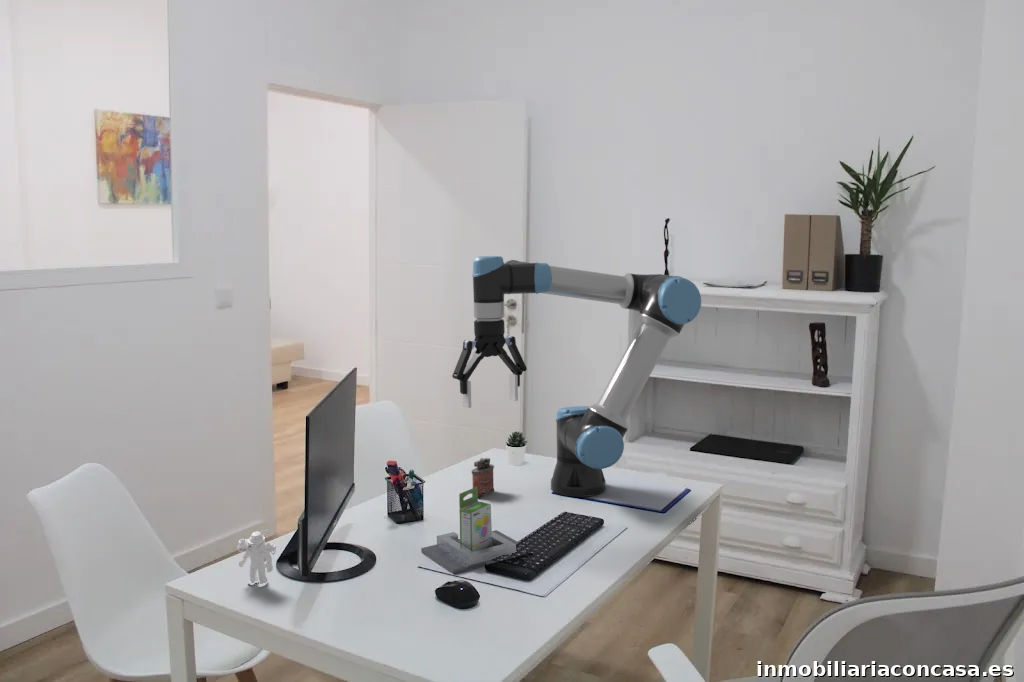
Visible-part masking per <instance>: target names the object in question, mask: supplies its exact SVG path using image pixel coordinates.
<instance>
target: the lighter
mask: <svg viewBox="0 0 1024 682" xmlns="http://www.w3.org/2000/svg"><path fill="white" fill-rule="evenodd" d="M473 467H475V468H472V470H471V476H472V488H475V487H478V500H480V499H483V498H486V497H488V496H490V495H492V494H494V493H495V487H494V484H495V483H494V468H495V465H494V464H491V457H485V458H483V457H480V459H479V460H478V459H477V460H476V461H474V462H473ZM473 496H474V494H471V497H473Z"/></svg>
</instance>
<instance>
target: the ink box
mask: <svg viewBox="0 0 1024 682" xmlns="http://www.w3.org/2000/svg"><path fill="white" fill-rule="evenodd" d="M458 494H459V495H458V496H459V501H458V502H459V510H458V511H459V539H460V544H461V545H463V546H464V547H466V548H468V549H469V550H471V551H477V550H481V549H485V548H487V547H489V546H491V545H492V531H493V530H492V528H493V527H492V504H490V503H487V502H483V501H479V499H478V487H475V488H473V487H472V488H469V489H468V490H464V491H463V492H461V493H458ZM472 494H474V496H473V497H472V496H471V497H469V498H467V499H465V497H467V496H468V495H472Z"/></svg>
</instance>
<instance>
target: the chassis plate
mask: <svg viewBox="0 0 1024 682" xmlns="http://www.w3.org/2000/svg"><path fill="white" fill-rule="evenodd" d="M518 543H520V542H519V541H517V540H515V539H513V538H511V537H510V536H509V535H506V534H504V533H503V532H501V531H499V530H497V529H495V530H492V545H491V546H489V547H487V548H485V549H481V550H477V551H471V550H469V549H468V548H466V547H464V546H463V545H461V544H460V538H459V534H458V533H457V532H454V531H452V532H448V533H443V534H440V535H436V544H433V545H428V546H424V547H421V548H420V551H421V553H422V554H423V555H424V556H425V557H428V558H429V559H430V560H432V561H434V562H435V563H436V564H438V565H440V567H442V568H443V569H445V570H446V571H448V572H449V573H451V574H452V575H455V574H460V573H463V572H467V571H470V570H474V569H479V568H483V567H486V566H485V563H486V562H488V561H490V560H492V559H494V558H496V557H499V556H502V555H506V554H511V553H515V552H517V551H516V544H518Z"/></svg>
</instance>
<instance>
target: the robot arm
mask: <svg viewBox="0 0 1024 682" xmlns="http://www.w3.org/2000/svg"><path fill="white" fill-rule="evenodd" d="M472 264H473V265H472V287H473V317H474V318H475V320H474V322H473V323H474V324H473V333H474V339H473V340H467V339H464V340H463V342H462V343H463V345H462V350H461V353H460V355H459V358H458V361H457V363H456V365H455V367H454V371H453V373H452V375H451V376H452V379H455V380H458V381H459V393H460V394H462V400H463V401H462V405H463V407H465V408H469V409H470V408H472V381H470V380H469V378H470V377H471V375H472V374H473V373H474V371H475V370H476V368H477V367H478V365H479V364H480V362H481V361H482V360H483V359H484V358H489V357H499V358H500V360H501V361H502V362H503V363H504V365H506V367H507V368H508V369H509V370H510V372H511V373H509V374H508V379H509V382H508V383H509V385H508V386H509V399H510V400H511V401H515V402H517V401H519V393H518V392H519V391H518V390H519V388H520V386H521V376H522V375H523V372H526V371H528V369H527V366H526V363H525V361H524V360H523V356H522V355H521V353H520V351H519V348H518V347H517V342H516V337H515V336H513V335H506V337H505V336H504V335H505V332H506V331H505V320H504V319H503V318H504V317H505V295H514V294H515V295H517V294H521V295H522V294H536V295H538V294H546V295H553V296H560V297H564V298H565V297H566V298H574V299H581V300H587V301H588V300H589V301H595V302H601V303H602V302H603V303H610V304H616V305H617V304H618V305H619V306H620V307H621V308H622V309H626V310H631V311H636V312H638V318H639V320H640V321H639V325H638V327H637V329H636V331H635V332H634V334H633V336H632V338H631V340H630V342H629V344H628V345H627V347H626V349H625V351H624V353H623V355H622V356H621V358H620V360H619V363H618V364H617V366H616V368H615V369H614V371H613V373H612V375H611V377H610V379H609V380H608V382H607V385H606V386H605V388H604V390H603V392H602V394H601V395H600V397H599V398H598V401H597V402H596V403H595V404H593V405H590V406H589V405H577V406H566V407H565V406H564V407H561V408H558V410H557V411H556V418H555V422H556V464H555V467H554V469H553V470H554V471H553V474H552V477H551V479H550V489H551V491H552V492H553V493H554V494H557V495H561V496H566V497H581V498H583V497H590V496H591V497H594V496H597V495H600V494H602V493H604V492H605V491H606V485H607V482H606V478H605V475H604V471H603V470H604V469H607V468H609V467H612V466H614V465H615V464H616V463H617V462H619V460H620V459H621V457H622V456H623V453H624V449H625V443H624V437H625V434H627V431H628V429H629V426H628V421H627V419H628V417H629V415H630V414H631V411H632V409H633V408H634V407H635V404H636V402H637V400H638V398H639V397H640V395H641V393H642V391H643V389H644V387H645V385H646V383H647V382H648V380H649V378H650V377H651V375H652V372H653V371H654V368H655V367H656V365H657V363H658V361H659V360H660V358H661V356H662V353H663V352H664V350H665V348H666V347H667V345H668V343H669V342H670V340H671V338H675V337H678V336H679V335H680V333H681V331H682V330H683V328H684V327H685V326H684V325H685V324H688V323H690V322H692V321H693V320H695V319H696V318H697V316H698V315H699V314H700V312H701V307H702V297H701V292H700V290H699V288H698V286H696V284H695V283H694V282H693V281H691V280H690V279H687V278H684V277H682V276H680V275H669V274H668V275H666V274H662V273H661V274H658V273H656V274H640V273H638V274H637V273H629V272H627V273H625V274H624V275H618V274H617V275H616V274H611V273H602V272H598V271H597V272H596V271H595V272H594V271H590V270H589V271H588V270H581V269H575V268H568V267H560V266H555V265H554V266H553V265H549V264H548V263H547V262H538V261H537V262H526V261H520V260H515V259H511V260H507V261H504V258H503V256H499V255H492V256H491V255H489V256H488V255H483V256H481V255H480V256H476V257H475V258H474V260H473V262H472ZM505 345H506V346H507V349H508V351H509V353H510V355H511V357H512V358H511V357H510V356H509V354H508V353H507V350H505V348H504V346H505ZM474 348H475V350H474V352H473V353H472V350H473V349H474ZM471 354H472V356H471Z"/></svg>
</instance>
